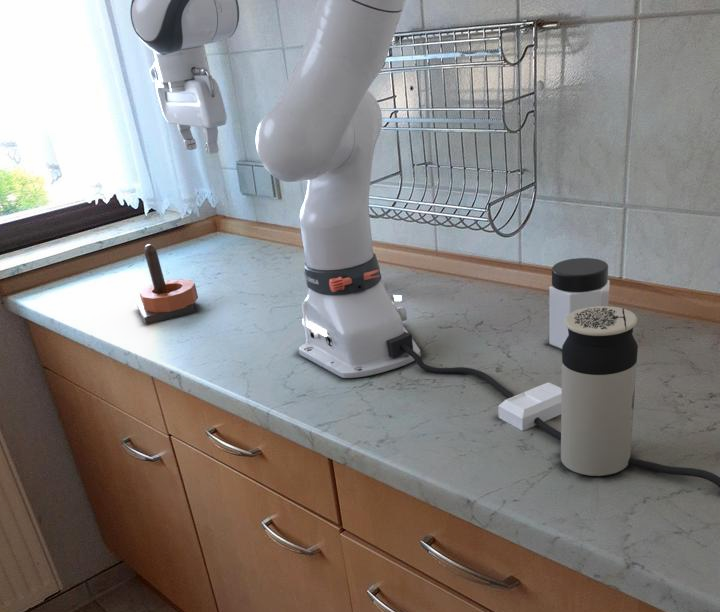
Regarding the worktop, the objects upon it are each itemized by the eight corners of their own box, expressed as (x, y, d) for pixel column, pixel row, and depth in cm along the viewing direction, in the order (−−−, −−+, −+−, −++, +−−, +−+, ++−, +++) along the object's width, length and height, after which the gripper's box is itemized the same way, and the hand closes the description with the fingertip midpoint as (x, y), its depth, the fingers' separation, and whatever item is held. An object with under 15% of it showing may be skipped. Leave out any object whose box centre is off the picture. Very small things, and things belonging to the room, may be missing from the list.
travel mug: (555, 475, 93) (557, 331, 83) (566, 441, 99) (568, 304, 90) (626, 481, 90) (636, 333, 81) (632, 446, 96) (642, 305, 87)
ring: (203, 302, 158) (200, 288, 157) (151, 316, 155) (147, 302, 153) (189, 289, 167) (186, 275, 165) (139, 302, 163) (135, 288, 162)
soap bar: (575, 408, 106) (575, 390, 105) (522, 430, 103) (522, 412, 101) (550, 396, 110) (550, 379, 108) (498, 417, 106) (498, 400, 105)
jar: (600, 328, 127) (603, 254, 121) (614, 348, 120) (617, 271, 114) (544, 334, 128) (544, 261, 121) (554, 355, 121) (554, 278, 114)
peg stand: (195, 312, 159) (178, 244, 151) (146, 324, 156) (126, 256, 149) (185, 298, 167) (168, 233, 159) (138, 310, 164) (119, 244, 157)
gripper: (225, 64, 133) (242, 151, 140) (176, 65, 148) (194, 144, 155) (191, 70, 130) (210, 159, 137) (145, 71, 145) (165, 151, 152)
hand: (202, 151), depth 146 cm, fingers open, 8 cm apart
